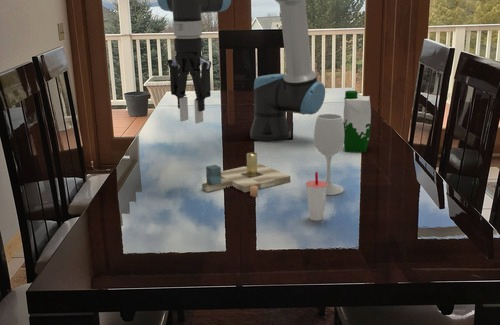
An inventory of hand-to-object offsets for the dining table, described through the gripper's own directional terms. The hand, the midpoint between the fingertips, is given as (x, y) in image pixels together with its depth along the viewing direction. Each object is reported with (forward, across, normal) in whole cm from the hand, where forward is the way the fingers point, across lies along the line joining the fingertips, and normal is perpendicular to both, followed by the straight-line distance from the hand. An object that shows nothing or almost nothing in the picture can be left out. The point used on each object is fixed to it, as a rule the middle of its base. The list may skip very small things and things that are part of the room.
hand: (191, 121), depth 173 cm
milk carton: (+19, +26, +57) cm, 65 cm away
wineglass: (+19, +36, +14) cm, 43 cm away
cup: (+19, +42, -6) cm, 47 cm away
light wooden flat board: (+19, +11, +8) cm, 23 cm away
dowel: (+19, +20, 0) cm, 28 cm away
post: (+19, +13, +11) cm, 25 cm away
